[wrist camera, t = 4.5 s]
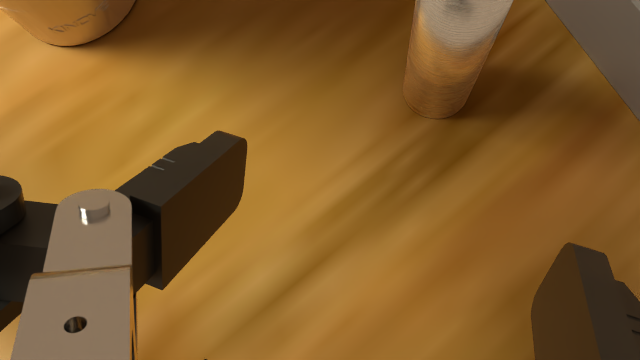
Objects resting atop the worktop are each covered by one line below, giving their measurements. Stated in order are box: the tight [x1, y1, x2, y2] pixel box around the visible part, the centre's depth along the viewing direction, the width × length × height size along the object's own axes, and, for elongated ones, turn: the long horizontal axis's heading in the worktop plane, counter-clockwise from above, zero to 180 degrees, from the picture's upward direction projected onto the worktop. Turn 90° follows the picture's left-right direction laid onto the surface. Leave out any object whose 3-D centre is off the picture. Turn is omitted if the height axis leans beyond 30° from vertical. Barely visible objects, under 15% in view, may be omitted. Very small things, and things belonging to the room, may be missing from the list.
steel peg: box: [403, 0, 513, 119], centre depth 23 cm, size 4×4×11 cm
